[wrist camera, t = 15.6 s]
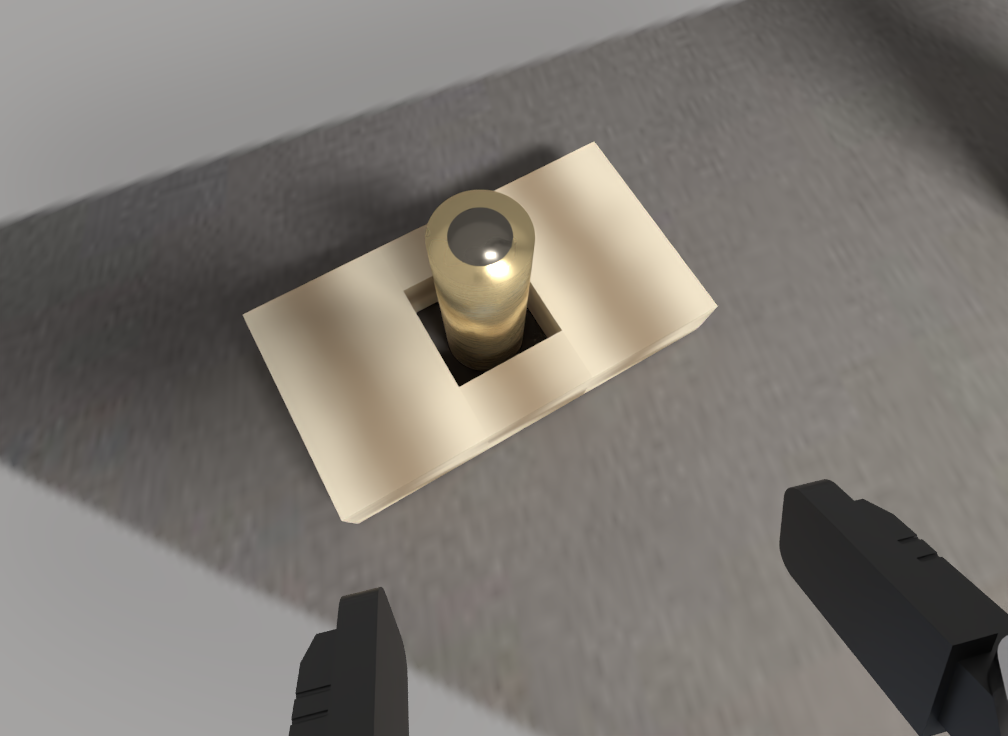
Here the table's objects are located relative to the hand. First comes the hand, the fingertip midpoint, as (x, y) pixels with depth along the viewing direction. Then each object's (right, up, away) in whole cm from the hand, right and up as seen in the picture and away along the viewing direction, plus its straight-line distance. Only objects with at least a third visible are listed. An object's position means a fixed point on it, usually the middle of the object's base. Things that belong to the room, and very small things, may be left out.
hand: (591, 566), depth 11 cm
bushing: (-3, +6, +19) cm, 20 cm away
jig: (-3, +6, +19) cm, 20 cm away
